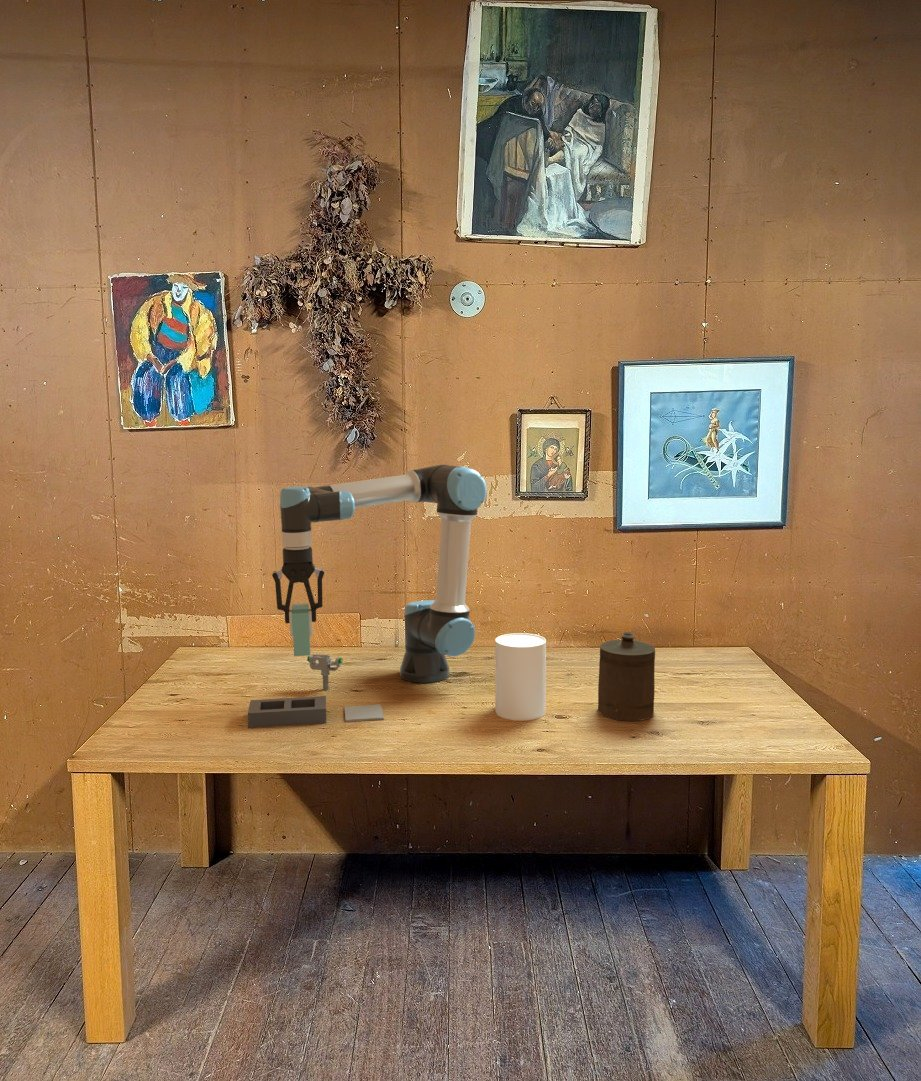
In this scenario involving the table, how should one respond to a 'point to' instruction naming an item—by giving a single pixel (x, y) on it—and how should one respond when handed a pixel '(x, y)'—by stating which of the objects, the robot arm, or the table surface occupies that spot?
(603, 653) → the wooden container
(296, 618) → the plug
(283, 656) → the table surface
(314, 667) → the mechanical component
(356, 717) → the mat
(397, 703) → the table surface
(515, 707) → the canister
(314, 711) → the cinder block
